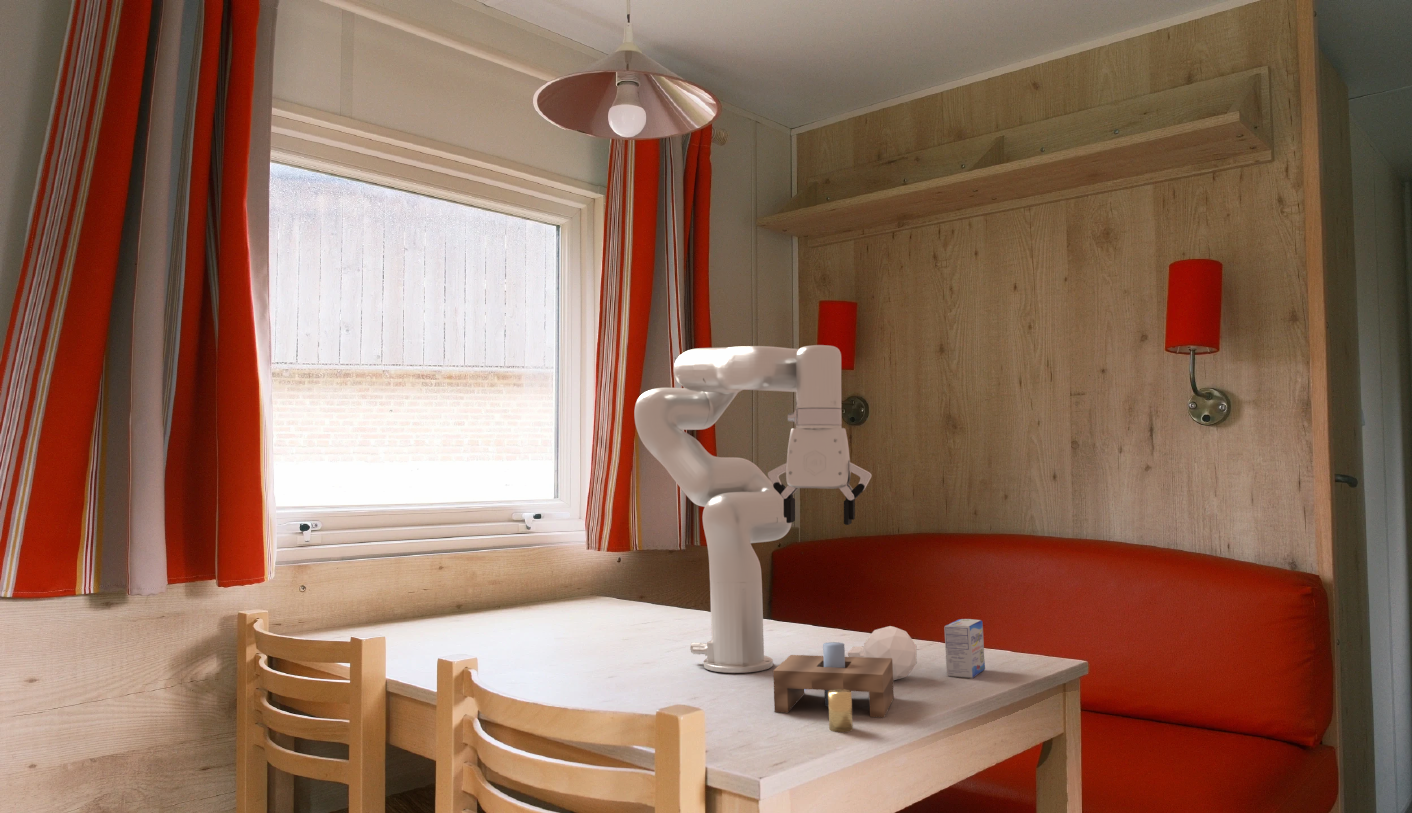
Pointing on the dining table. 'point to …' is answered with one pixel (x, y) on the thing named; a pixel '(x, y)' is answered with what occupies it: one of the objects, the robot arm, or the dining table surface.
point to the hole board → (834, 680)
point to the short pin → (840, 710)
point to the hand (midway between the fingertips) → (819, 523)
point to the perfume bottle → (890, 649)
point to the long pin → (833, 658)
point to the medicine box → (964, 648)
